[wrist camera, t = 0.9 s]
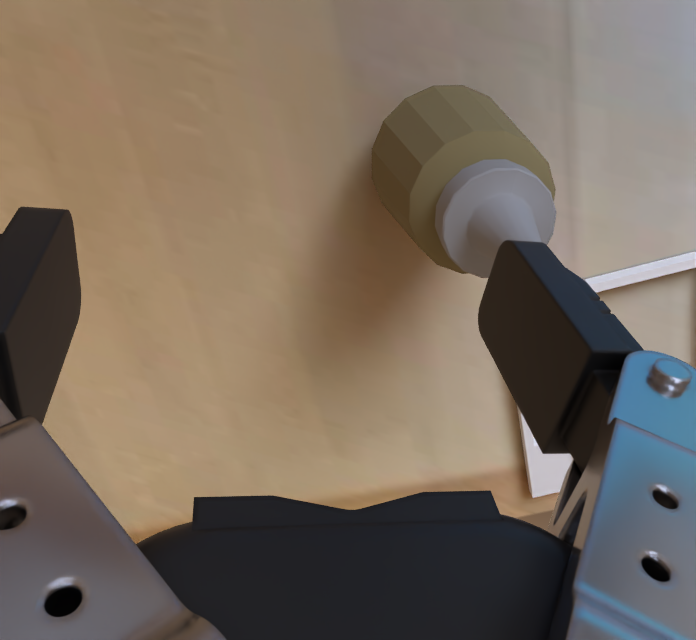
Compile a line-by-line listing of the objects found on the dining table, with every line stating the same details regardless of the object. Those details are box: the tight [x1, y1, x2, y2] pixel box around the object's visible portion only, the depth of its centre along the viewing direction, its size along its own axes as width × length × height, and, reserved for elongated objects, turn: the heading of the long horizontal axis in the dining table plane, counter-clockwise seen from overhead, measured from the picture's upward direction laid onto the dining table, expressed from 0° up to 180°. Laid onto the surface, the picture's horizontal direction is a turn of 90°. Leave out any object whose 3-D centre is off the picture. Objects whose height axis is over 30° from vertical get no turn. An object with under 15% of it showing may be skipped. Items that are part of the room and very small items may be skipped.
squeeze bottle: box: [372, 85, 556, 278], centre depth 29 cm, size 8×8×18 cm
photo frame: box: [517, 251, 696, 498], centre depth 46 cm, size 15×1×18 cm
